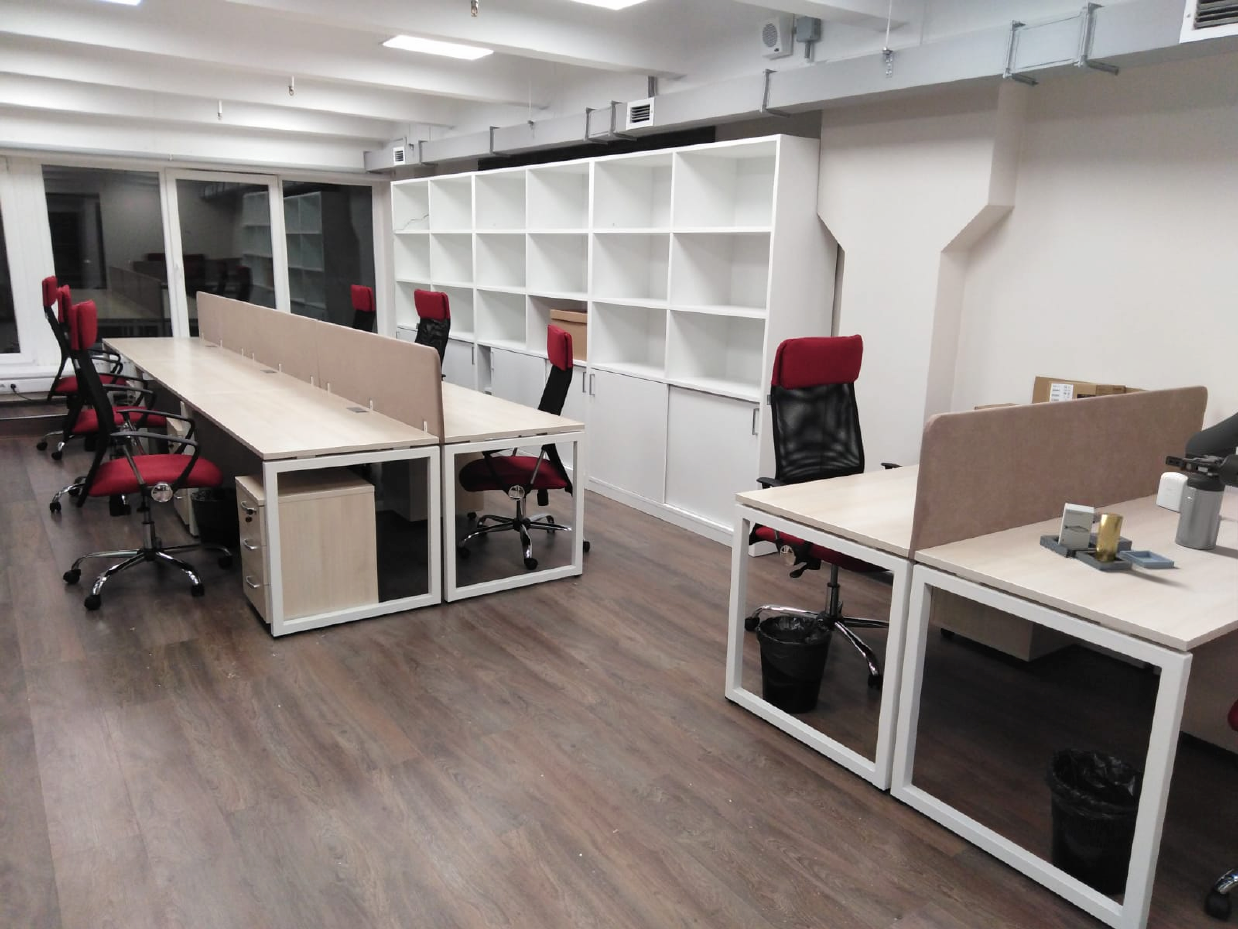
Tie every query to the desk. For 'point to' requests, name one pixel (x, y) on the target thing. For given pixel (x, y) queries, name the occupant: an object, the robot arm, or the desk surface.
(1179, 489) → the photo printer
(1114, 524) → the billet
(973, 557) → the desk surface
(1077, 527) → the supplement box
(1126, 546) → the grey square socket block
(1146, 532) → the desk surface
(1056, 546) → the gray compartment tray
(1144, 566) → the tote tray
